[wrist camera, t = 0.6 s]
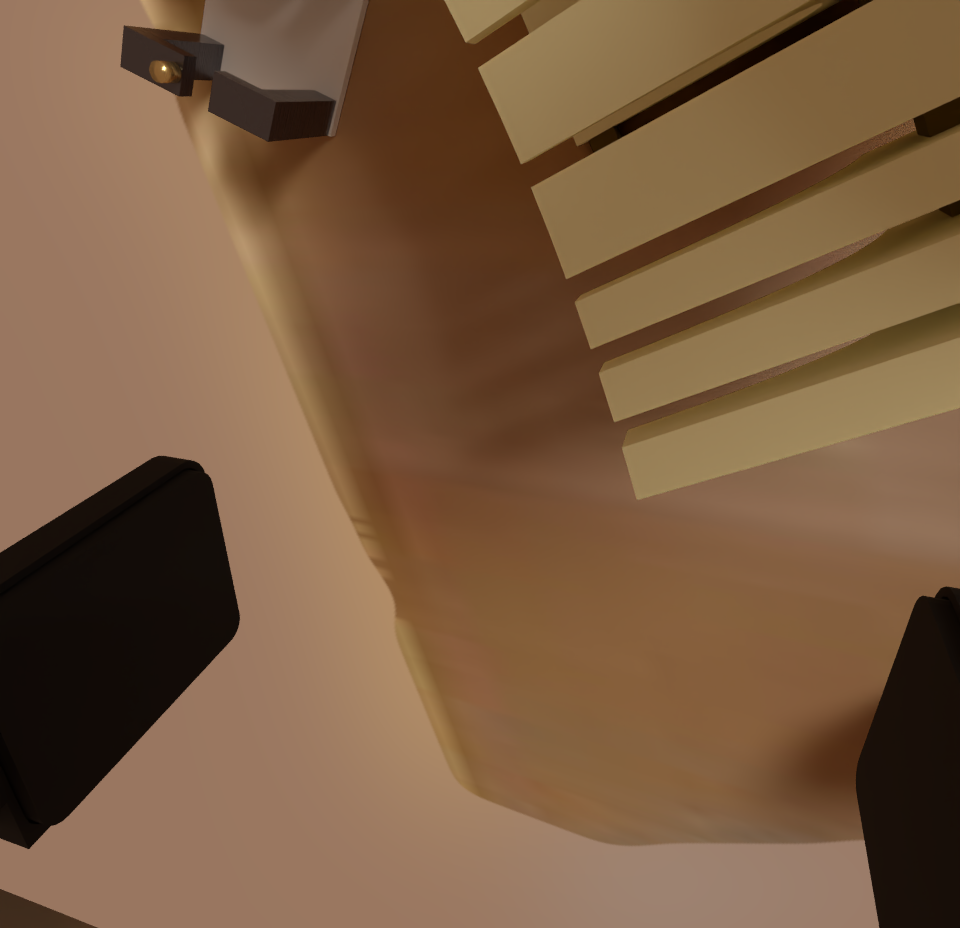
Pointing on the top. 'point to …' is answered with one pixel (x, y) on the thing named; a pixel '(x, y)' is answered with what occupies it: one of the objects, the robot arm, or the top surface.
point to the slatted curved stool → (762, 237)
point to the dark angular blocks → (224, 85)
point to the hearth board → (289, 43)
